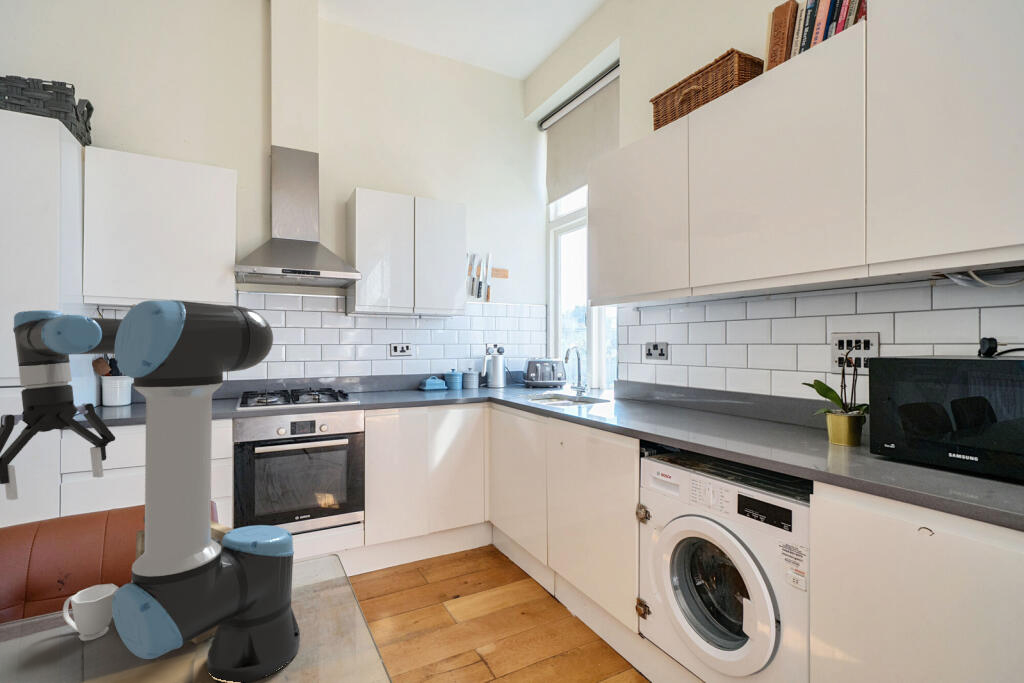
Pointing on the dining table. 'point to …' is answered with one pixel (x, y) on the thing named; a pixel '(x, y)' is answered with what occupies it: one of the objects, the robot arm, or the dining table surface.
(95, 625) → the cup
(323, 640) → the dining table surface
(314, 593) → the dining table surface
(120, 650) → the dining table surface
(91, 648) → the dining table surface
